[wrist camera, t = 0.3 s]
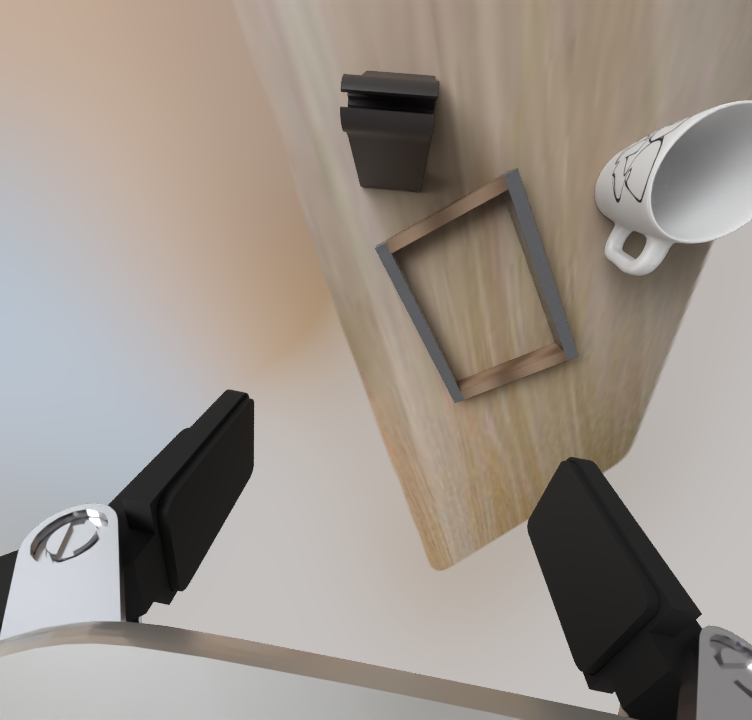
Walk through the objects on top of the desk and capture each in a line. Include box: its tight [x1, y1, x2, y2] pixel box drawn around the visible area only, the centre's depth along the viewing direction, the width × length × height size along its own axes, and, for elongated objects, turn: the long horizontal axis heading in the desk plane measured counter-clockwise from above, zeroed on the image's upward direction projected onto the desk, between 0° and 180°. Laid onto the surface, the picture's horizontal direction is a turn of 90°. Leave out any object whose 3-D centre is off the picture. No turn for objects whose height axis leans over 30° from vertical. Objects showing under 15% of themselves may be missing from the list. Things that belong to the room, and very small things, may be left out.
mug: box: [595, 100, 752, 276], centre depth 27 cm, size 11×8×10 cm
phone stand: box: [340, 71, 439, 192], centre depth 26 cm, size 9×6×12 cm, turn 175°
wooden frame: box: [375, 168, 578, 403], centre depth 36 cm, size 14×20×2 cm
